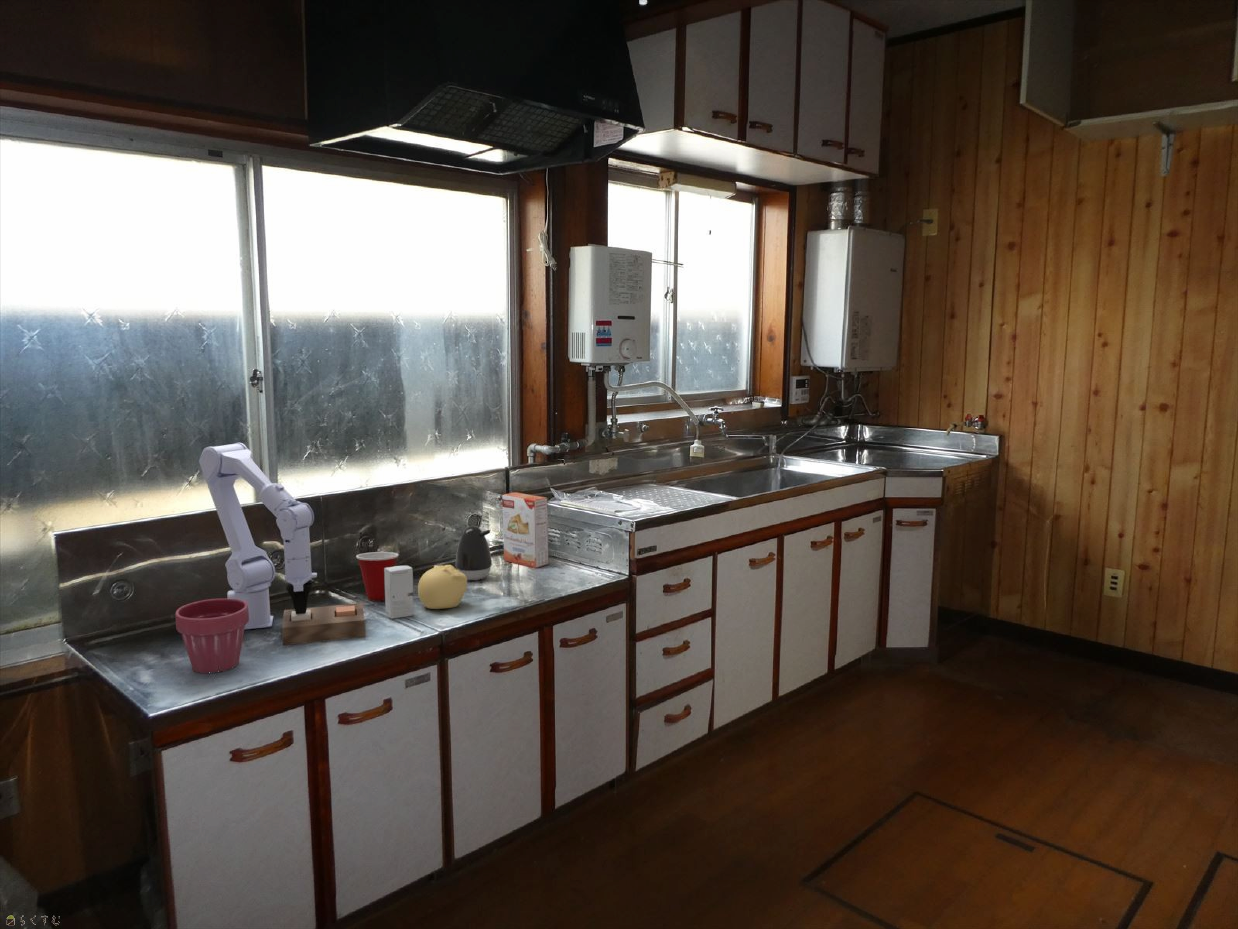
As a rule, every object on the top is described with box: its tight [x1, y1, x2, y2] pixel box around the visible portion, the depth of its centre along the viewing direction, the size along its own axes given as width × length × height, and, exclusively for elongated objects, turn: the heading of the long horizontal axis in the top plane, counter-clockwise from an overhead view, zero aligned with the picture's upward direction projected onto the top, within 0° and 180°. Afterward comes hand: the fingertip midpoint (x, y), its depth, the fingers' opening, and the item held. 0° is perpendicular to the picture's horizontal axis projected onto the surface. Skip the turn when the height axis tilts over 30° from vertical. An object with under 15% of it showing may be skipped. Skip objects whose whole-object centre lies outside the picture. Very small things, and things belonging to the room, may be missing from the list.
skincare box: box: [384, 564, 415, 620], centre depth 228 cm, size 6×4×12 cm
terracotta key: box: [336, 606, 355, 617], centre depth 217 cm, size 4×4×4 cm
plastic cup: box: [356, 551, 399, 602], centre depth 242 cm, size 11×11×12 cm
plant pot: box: [175, 598, 249, 674], centre depth 194 cm, size 14×14×13 cm
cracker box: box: [501, 492, 549, 569], centre depth 277 cm, size 14×6×21 cm, turn 50°
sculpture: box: [417, 564, 468, 610], centre depth 235 cm, size 11×12×11 cm
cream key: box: [291, 610, 311, 621], centre depth 214 cm, size 4×4×4 cm
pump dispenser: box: [455, 525, 493, 581], centre depth 261 cm, size 10×10×15 cm
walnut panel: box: [281, 602, 366, 646], centre depth 216 cm, size 18×14×4 cm
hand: (301, 613), depth 214 cm, fingers closed, pressing on cream key
